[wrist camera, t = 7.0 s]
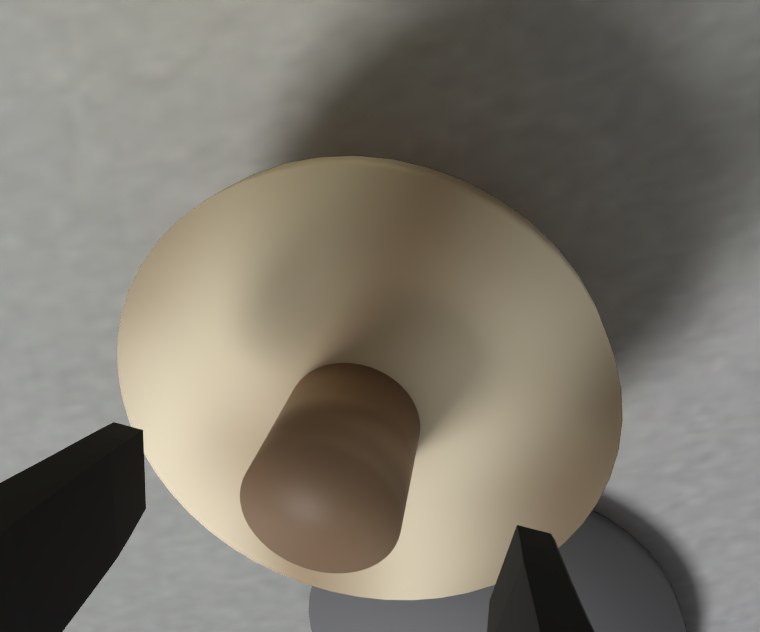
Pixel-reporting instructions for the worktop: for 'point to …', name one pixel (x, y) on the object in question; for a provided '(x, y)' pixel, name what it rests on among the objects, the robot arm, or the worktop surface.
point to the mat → (470, 610)
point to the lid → (369, 377)
